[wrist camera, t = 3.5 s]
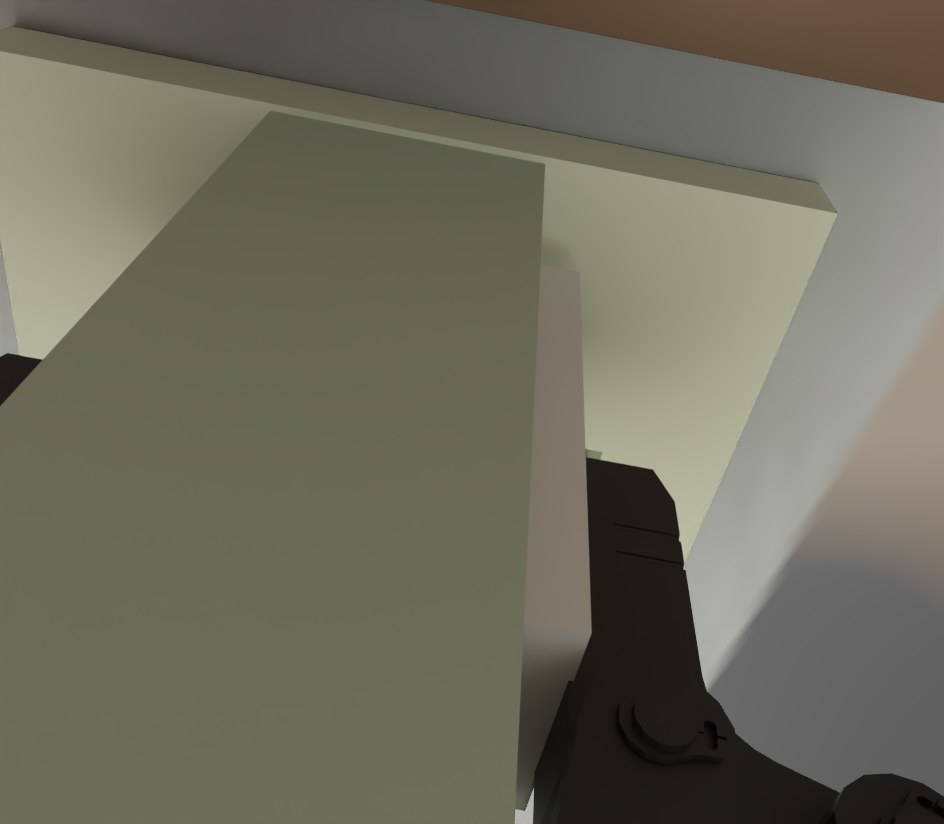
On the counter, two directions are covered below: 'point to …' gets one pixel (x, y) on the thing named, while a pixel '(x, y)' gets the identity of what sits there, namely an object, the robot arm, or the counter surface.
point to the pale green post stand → (324, 424)
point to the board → (770, 34)
